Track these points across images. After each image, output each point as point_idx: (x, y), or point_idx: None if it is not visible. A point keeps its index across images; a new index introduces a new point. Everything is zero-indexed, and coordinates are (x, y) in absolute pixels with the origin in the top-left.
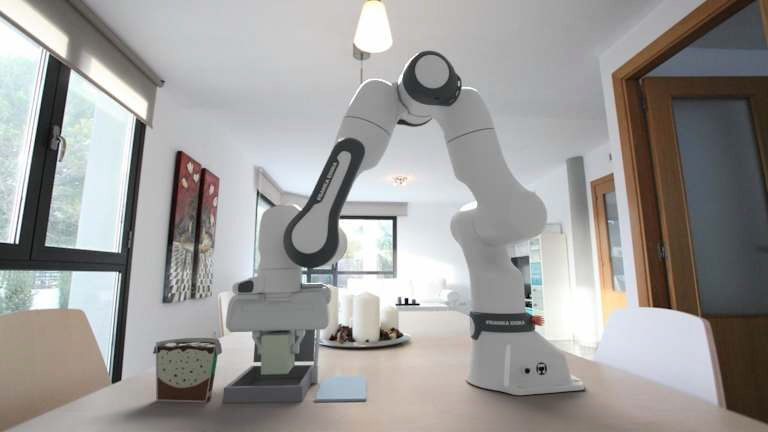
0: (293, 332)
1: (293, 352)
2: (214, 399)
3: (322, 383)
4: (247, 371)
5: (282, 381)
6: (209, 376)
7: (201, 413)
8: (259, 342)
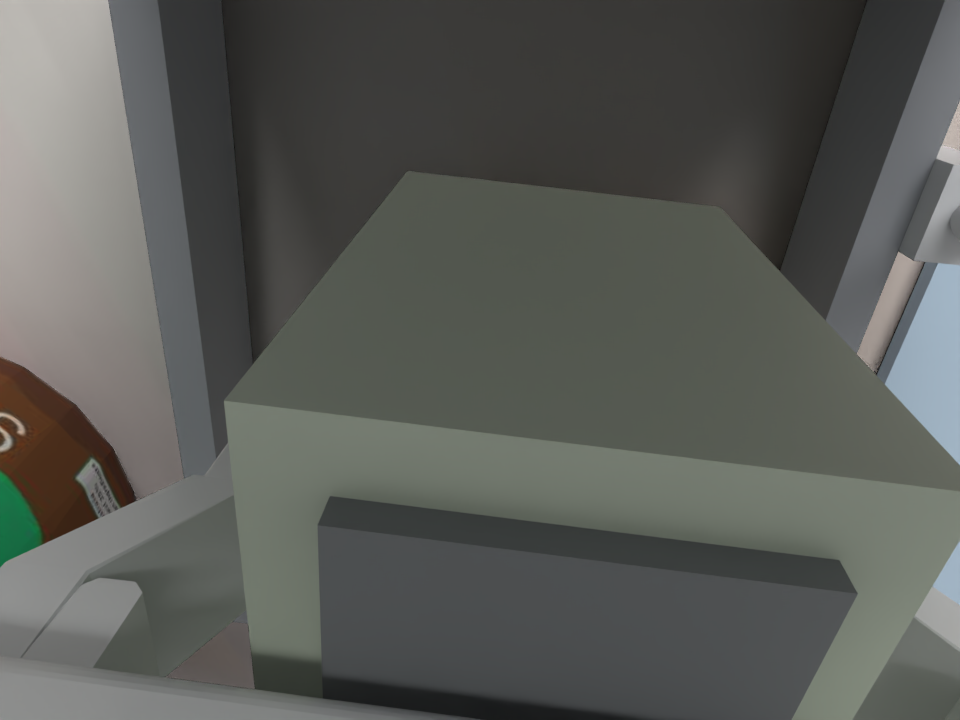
0: (873, 634)
1: None
2: (155, 480)
3: (931, 309)
4: (170, 178)
5: (555, 83)
6: None
7: (206, 651)
8: (219, 624)
